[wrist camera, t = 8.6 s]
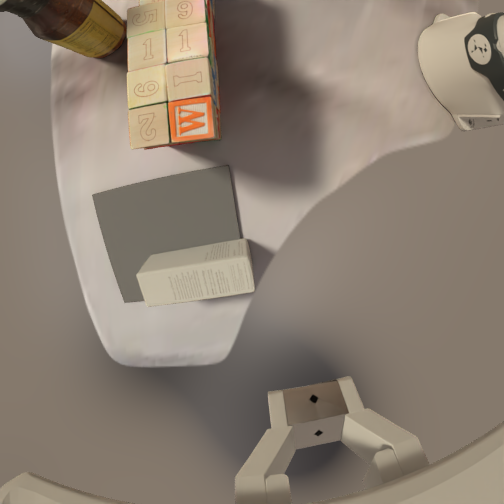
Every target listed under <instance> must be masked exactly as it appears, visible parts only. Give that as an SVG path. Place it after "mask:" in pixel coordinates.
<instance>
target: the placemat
mask: <svg viewBox="0 0 504 504" xmlns="http://www.w3.org/2000/svg"><path fill="white" fill-rule="evenodd" d="M92 196H93V201H94V205H95V209H96V213H97V217H98V221H99V224H100V228H101V232H102V235H103V239H104V242H105V246H106V249H107V252H108V256H109V259H110V262H111V265H112V268H113V271H114V274H115V277H116V280H117V283H118V286H119V289H120V291H121V294H122V297H123V300H124V302H125V303H126V302H135V301H144V297H143V294H142V291H141V288H140V285H139V282H138V279H137V276H136V275H137V273H138V272H139V270H140V269H141V267H142V265H143V263H144V262H146V261H147V260H148V258H149V257H150V256H151V255H154V254H159V253H164V252H170V251H176V250H181V249H187V248H192V247H198V246H204V245H209V244H215V243H221V242H226V241H232V240H238V239H240V234H239V228H238V221H237V215H236V209H235V203H234V196H233V190H232V184H231V177H230V171H229V165H226V166H220V167H214V168H208V169H203V170H197V171H192V172H187V173H181V174H176V175H172V176H167V177H162V178H157V179H153V180H148V181H144V182H140V183H136V184H131V185H127V186H123V187H119V188H115V189H112V190H108V191H104V192H100V193H97V194H93V195H92Z"/></svg>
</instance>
